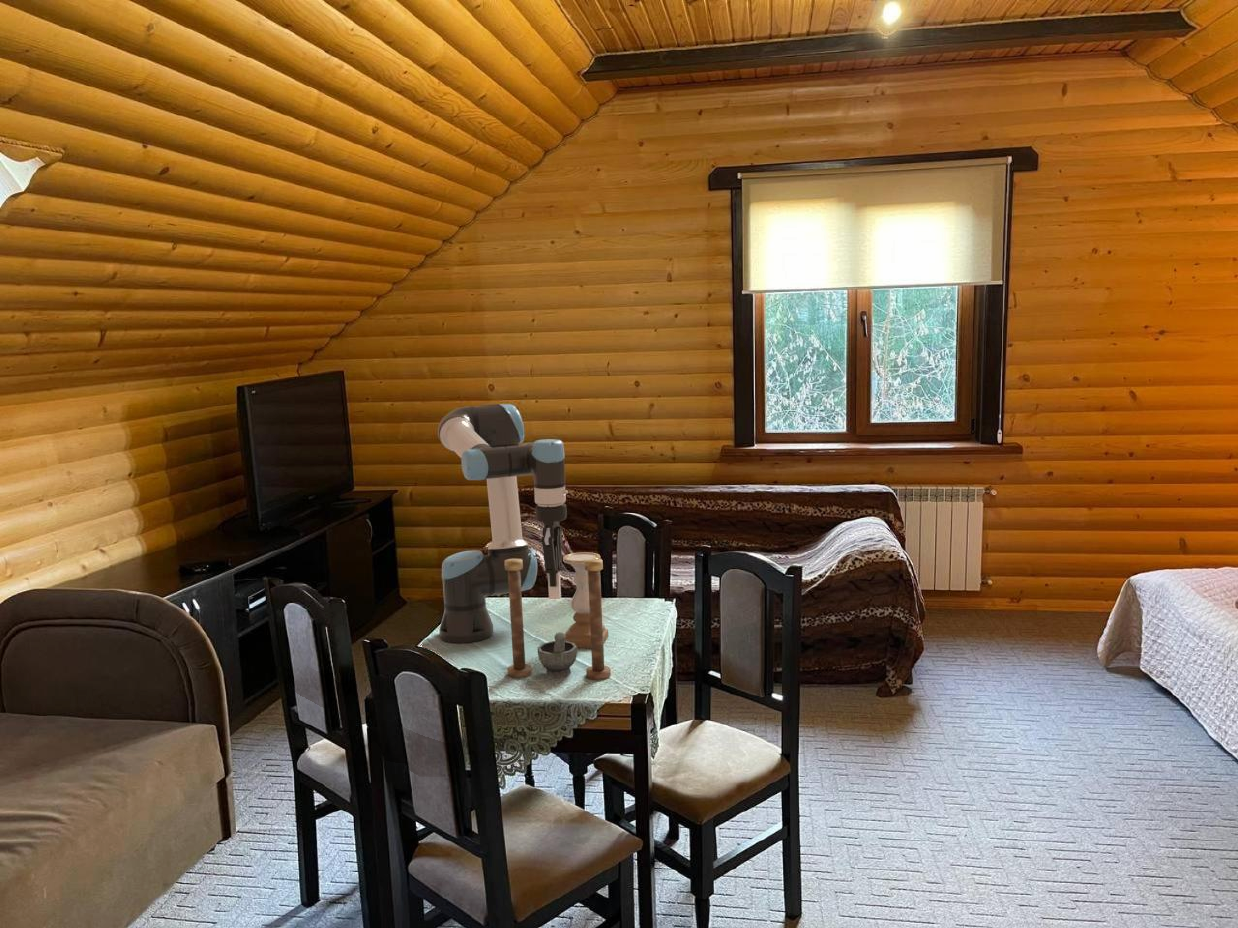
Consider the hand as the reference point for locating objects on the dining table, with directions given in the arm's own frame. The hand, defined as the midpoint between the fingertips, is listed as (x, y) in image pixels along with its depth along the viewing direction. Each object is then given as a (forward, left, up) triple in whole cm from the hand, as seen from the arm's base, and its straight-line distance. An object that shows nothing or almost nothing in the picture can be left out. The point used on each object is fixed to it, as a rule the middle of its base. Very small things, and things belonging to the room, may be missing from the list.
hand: (555, 597), depth 229 cm
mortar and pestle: (0, 0, -20) cm, 20 cm away
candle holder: (+2, +25, -20) cm, 32 cm away
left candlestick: (-10, 0, -20) cm, 22 cm away
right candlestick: (+10, 0, -20) cm, 22 cm away
